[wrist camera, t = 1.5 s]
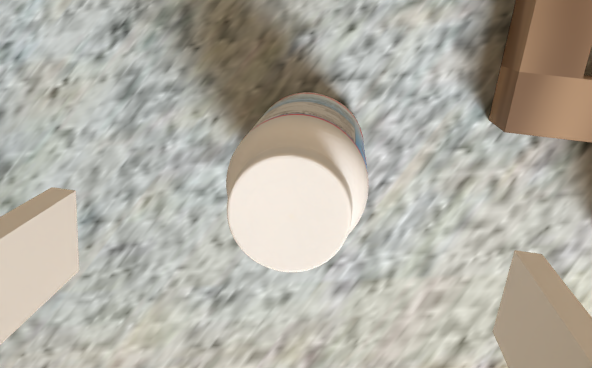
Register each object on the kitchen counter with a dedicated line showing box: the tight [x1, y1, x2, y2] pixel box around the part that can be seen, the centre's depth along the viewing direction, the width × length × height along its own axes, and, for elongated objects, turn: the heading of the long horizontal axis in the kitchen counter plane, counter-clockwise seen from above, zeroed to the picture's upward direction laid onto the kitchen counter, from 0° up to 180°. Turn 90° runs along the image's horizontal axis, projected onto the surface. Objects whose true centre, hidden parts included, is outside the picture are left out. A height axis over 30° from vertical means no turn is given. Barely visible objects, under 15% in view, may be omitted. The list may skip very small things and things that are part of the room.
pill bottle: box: [226, 92, 368, 272], centre depth 24 cm, size 6×6×11 cm
